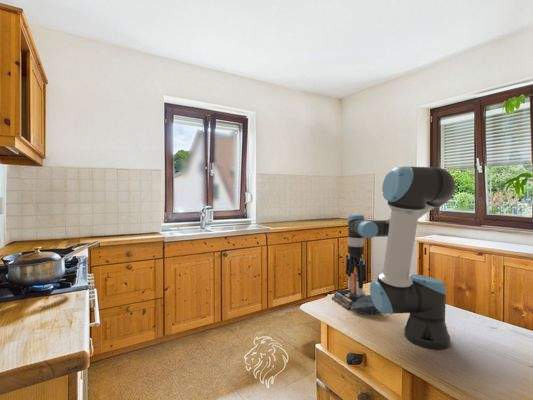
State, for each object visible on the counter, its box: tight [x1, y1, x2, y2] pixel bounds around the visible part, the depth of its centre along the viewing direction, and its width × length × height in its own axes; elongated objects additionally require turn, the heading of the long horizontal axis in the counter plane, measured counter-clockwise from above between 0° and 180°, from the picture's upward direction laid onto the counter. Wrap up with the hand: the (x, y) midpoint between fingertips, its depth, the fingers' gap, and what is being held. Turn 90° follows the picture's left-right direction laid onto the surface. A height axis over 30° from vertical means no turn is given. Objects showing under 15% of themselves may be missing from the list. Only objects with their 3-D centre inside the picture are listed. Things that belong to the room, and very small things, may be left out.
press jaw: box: [345, 271, 366, 303], centre depth 140 cm, size 4×9×14 cm, turn 107°
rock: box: [351, 294, 379, 316], centre depth 130 cm, size 16×8×10 cm
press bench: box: [331, 289, 368, 311], centre depth 142 cm, size 14×16×4 cm
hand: (355, 291), depth 140 cm, fingers open, 7 cm apart
